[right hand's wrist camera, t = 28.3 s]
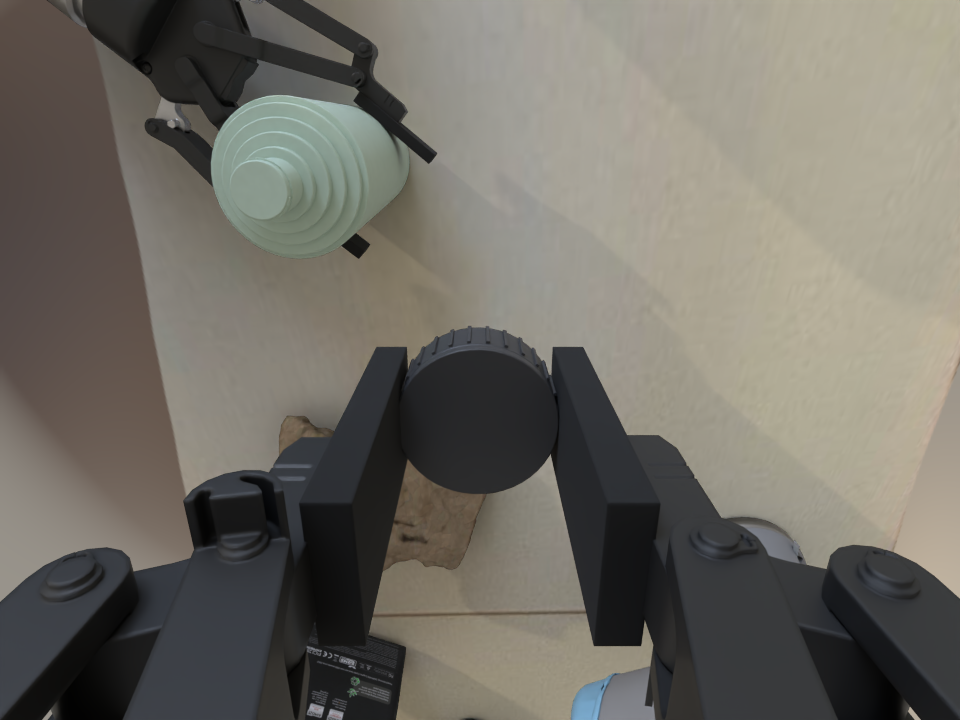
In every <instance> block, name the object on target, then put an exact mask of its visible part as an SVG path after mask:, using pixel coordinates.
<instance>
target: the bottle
mask: <svg viewBox="0 0 960 720" xmlns="http://www.w3.org/2000/svg"><path fill="white" fill-rule="evenodd" d="M409 166H410V158H409V151H408V147H407V145H406V144H404V143H403V142H402V141H401V140H400V139H398V138H397V137H396V136H395V135H394V134H392V133H391V132H390V131H389V130H388V129H386V128H385V127H384V126H383V125H382V124H380V123H379V122H378V121H377V120H376V119H374V118H373V117H372V116H371V115H370V114H368V113H367V112H366V111H365V110H364V109H362V108H361V107H355V106H349V105H343V104H337V103H331V102H325V101H319V100H312V99H306V98H300V97H294V96H288V95H274V96H266V97H262V98H259V99H255V100H253V101H251V102H249V103H246V104H245V105H243V106H242V107H240V108H239V109H237V110H236V111H235V112H234V113H233V114H232V115H231V116H230V117H229V118H228V119H227V121H226V122H225V123H224V124H223V126H222V128H221V130H220V131H219V133H218V136H217V138H216V140H215V143H214V147H213V151H212V159H211V176H212V182H213V187H214V191H215V194H216V197H217V200H218V202H219V204H220V206H221V208H222V210H223V212H224V214H225V215H226V217H227V218H228V220H229V221H230V223H231V224H232V225H233V226H234V227H235V228H236V230H237V231H238V232H239V233H240V234H241V235H243V236H244V237H245V238H246V239H247V240H248V241H250V242H251V243H253V244H254V245H256V246H257V247H259V248H261V249H263V250H265V251H267V252H269V253H272V254H274V255H278V256H282V257H286V258H293V259H306V258H314V257H318V256H322V255H324V254H327V253H329V252H331V251H333V250H335V249H337V248H338V247H340V246H341V245H342V244H344V243H345V242H346V241H347V240H348V239H350V238H351V237H352V236H353V235H354V234H355V233H356V232H357V231H358V230H360V229H361V228H362V227H363V226H364V225H365V224H366V223H367V222H368V221H370V220H371V219H372V218H373V217H374V216H375V215H376V214H377V213H379V212H380V211H381V210H382V209H383V208H384V207H385V206H386V205H387V204H389V203H390V202H391V201H392V200H393V199H394V198H395V197H396V196H397V195H398V194H399V193H400V191H401V190H402V188H403V187H404V185H405V183H406V180H407V177H408V173H409Z"/></svg>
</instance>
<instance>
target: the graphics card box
mask: <svg viewBox="0 0 960 720" xmlns="http://www.w3.org/2000/svg"><path fill="white" fill-rule="evenodd" d="M307 652H308V659H309V666H310V676H309V685H308V695H307V704H306V714H305V720H396V715H397V709H398V702H399V696H400V688H401V681H402V674H403V668H404V660H405V652H406V647H404V646H401V645H397V644H394V643H391V642H387V641H385V640H381V639H378V638H375V637H372V636H368V638H367V643H366V646H318V638H317V631H316V624H315V623H314V626H313V629H312V632H311V635H310V638H309V641H308V644H307Z"/></svg>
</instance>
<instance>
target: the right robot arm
mask: <svg viewBox="0 0 960 720" xmlns="http://www.w3.org/2000/svg"><path fill="white" fill-rule="evenodd" d="M407 373H408V361H407V347H376V349H375V351H374V353H373V355H372V357H371V359H370V361H369V363H368V365H367V367H366V369H365V371H364V373H363V375H362V377H361V379H360V381H359V383H358V385H357V387H356V389H355V391H354V393H353V395H352V397H351V399H350V402H349V404H348V406H347V408H346V410H345V412H344V414H343V416H342V418H341V420H340V422H339V424H338V426H337V428H336V430H335V432H334V434H333V436H332V437H301V438H299V439H298V440H297V441H295V442H294V443H292V444H291V445H290V446H288V447H287V448H285V449H284V450H283V451H282V453H281V454H280V456H279V457H278V459H277V460H276V462H275V464H274V467H273V468H271V470H270V471H269V473H268V472H265V471H261V470H242V471H237V472H232V473H226V474H223V475H220V476H218V477H215V478H213V479H210V480H207V481H206V482H204V483H202V484H201V485H199V486H198V487H196V488H195V489H193V490H192V491H191V492H190V493H189V495H188V496H187V497H186V498H185V499H184V500H183V502H184V506H185V511H186V515H187V519H188V524H189V528H190V533H191V537H192V542H193V546H194V551H193V554H192V556H191V558H190V559H187V560H183V561H179V562H176V563H172V564H167V565H162V566H158V567H153V568H148V569H144V570H139V571H134V572H133V568H132V565H131V561H130V558H129V557H128V556H127V555H126V554H125V553H124V552H123V551H121V550H117V549H112V548H107V547H106V548H95V549H86V550H83V551H78V552H76V553H75V552H74V553H71V554H69V555H65V556H63V557H61V558H59V559H57V560H55V561H53V562H51V563H49V564H47V565H45V566H43V567H42V568H40V569H39V570H38V571H36V572H35V573H33V574H32V575H31V576H29V577H28V578H26V579H25V580H24V581H23V582H22V583H21V584H20V585H19V586H18V587H16V588H15V589H14V590H13V591H12V592H11V593H10V594H9V595H7V596H6V597H5V598H4V599H3V600H2V601H1V602H0V720H42V719H43V718H44V717H45V715H46V714H47V713H48V712H49V710H50V709H51V711H52V715H51V716H50V718H49V719H48V720H305V714H306V704H307V695H308V685H309V676H310V666H309V659H308V652H307V644H308V641H309V638H310V635H311V632H312V629H313V626H314V623H315V624H316V631H317V638H318V646H366V643H367V638H368V634H369V629H370V625H371V620H372V616H373V611H374V607H375V603H376V598H377V594H378V589H379V585H380V580H381V576H382V571H383V567H384V563H385V558H386V554H387V549H388V545H389V540H390V536H391V532H392V527H393V523H394V518H395V514H396V509H397V505H398V500H399V496H400V492H401V487H402V483H403V478H404V474H405V469H406V465H407V460H408V458H407V457H406V455H405V453H404V452H403V450H402V445H401V428H400V411H399V400H400V397H401V390H402V387H403V383H404V380H405V377H406V374H407ZM551 377H552V380H553V384H554V387H555V390H556V394H557V396H555V400H556V404H557V407H558V414H559V430H558V435H557V439H556V442H555V445H554V448H553V450H552V452H551V458H552V462H553V466H554V471H555V475H556V480H557V484H558V489H559V493H560V498H561V502H562V506H563V511H564V515H565V520H566V524H567V529H568V533H569V538H570V542H571V546H572V551H573V555H574V560H575V564H576V569H577V573H578V578H579V582H580V586H581V591H582V595H583V600H584V604H585V609H586V613H587V618H588V622H589V627H590V631H591V635H592V640H593V644H594V646H641V643H642V636H643V628H644V621H645V622H646V624H647V627H648V630H649V633H650V636H651V639H652V642H653V645H654V646H653V652H652V659H651V666H650V667H646V668H642V669H638V670H634V671H630V672H626V673H622V674H620V673H614V674H612V675H609V676H608V677H607V678H606V679H603V680H600V681H596V682H593V683H590V684H587V685H585V686H584V687H583V688H581V689H580V691H579V692H578V693H577V694H576V696H575V698H574V701H573V705H572V711H571V720H914V719H913V717H912V716H911V715H910V714H909V712H908V710H909V707H911V708H912V709H913V711H914V712H915V713H916V714H917V716H918V717H919V718H920V719H921V720H960V598H958V597H957V596H956V595H955V594H954V593H953V592H952V591H951V590H949V589H948V588H947V587H946V586H945V585H944V584H943V583H942V582H940V581H939V580H938V579H937V578H936V577H935V576H934V575H932V574H931V573H929V572H928V571H927V570H925V569H924V568H922V567H921V566H920V565H918V564H917V563H915V562H913V561H911V560H909V559H907V558H904V557H902V556H900V555H898V554H896V553H894V552H891V551H888V550H883V549H881V548H876V547H872V546H860V545H851V546H846V547H841V548H838V549H837V550H836V551H835V552H834V553H833V554H831V556H830V559H829V563H828V566H827V569H823V568H818V567H814V566H809V565H806V562H805V559H804V557H803V554H802V552H801V551H800V549H799V547H800V546H799V545H798V544H797V542H796V541H795V540H794V541H793V540H792V539H791V537H790V536H789V535H788V534H787V533H786V532H785V531H784V530H783V529H781V528H780V527H778V526H776V525H775V524H773V523H770V522H768V521H764V520H761V519H756V518H742V517H740V518H730V519H723V518H721V517H720V515H719V514H718V512H717V510H716V509H715V507H714V506H713V504H712V503H711V501H710V499H709V498H708V496H707V495H706V493H705V492H704V490H703V488H702V487H701V485H700V484H699V482H698V481H697V479H694V474H693V473H692V471H691V470H690V468H689V467H688V466H686V462H685V460H684V459H683V457H682V456H681V454H680V452H679V451H678V449H677V448H676V447H674V446H673V445H672V444H670V443H669V442H667V441H666V440H664V439H663V438H662V437H660V436H659V435H627V434H626V432H625V430H624V428H623V426H622V424H621V422H620V420H619V418H618V416H617V414H616V412H615V410H614V408H613V406H612V404H611V402H610V400H609V398H608V396H607V394H606V392H605V390H604V388H603V386H602V384H601V382H600V380H599V378H598V376H597V374H596V372H595V370H594V368H593V366H592V364H591V362H590V360H589V358H588V356H587V354H586V352H585V350H584V348H583V347H553V354H552V374H551Z"/></svg>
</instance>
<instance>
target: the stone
mask: <svg viewBox="0 0 960 720" xmlns="http://www.w3.org/2000/svg"><path fill="white" fill-rule="evenodd" d="M333 434H334V431H332V430H330V429H327V428H317V427H315V426H314V425H312V424H311V423H310V422H309V420H308V419H307V418H306V417H305V416H296V417H295V416H287V417H286V418H285V420H284V422H283V423H282V425H281V431H280V435H279V455H280V454H281V453H282V451H283V450H284V449H285V448H287V447H288V446H290V445H291V444H292V443H294V442H295V441H297V440H298V439H299V438H301V437H332V436H333ZM485 497H486V494H467V493H460V492H456V491H452V490H449V489H446V488H443V487H441V486H439V485H437V484H435V483H433V482H432V481H430V480H429V479H427V478H426V477H425V476H423V475H422V474H421V473H420V472H419V471H418V470H417V469H416V468H415V467H414V466H413V465H412V464H411V462H410V461H409V460H407V465H406V469H405V474H404V478H403V483H402V487H401V492H400V496H399V500H398V505H397V509H396V514H395V518H394V523H393V527H392V532H391V536H390V540H389V545H388V549H387V554H386V558H385V563H384V567H383V570H386V569H388V568H389V567H390V566H391V565H392V564H394V563H396V562H400V561H407V560H411V559H417V560H419V561H420V562H422V563H423V565H424V566H425V567H429V566H440V567H445V568H446V569H450V570H452V569H455V568H457V567H458V566H459V565H460V562H461V560H462V559H463V557H464V554H465V552H466V550H467V547H468V545H469V542H470V539H471V535H472V532H473V529H474V526H475V523H476V517H477V515H478V513H479V510H480V508H481V506H482V503H483V501H484V499H485Z"/></svg>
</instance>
